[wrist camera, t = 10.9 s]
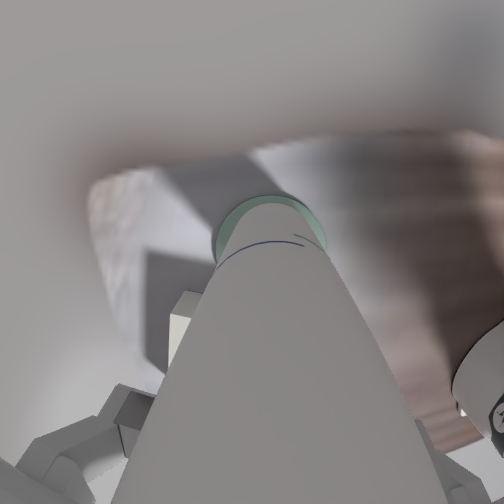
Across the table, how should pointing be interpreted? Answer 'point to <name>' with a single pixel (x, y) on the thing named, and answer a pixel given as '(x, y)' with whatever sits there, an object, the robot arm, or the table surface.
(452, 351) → the table surface
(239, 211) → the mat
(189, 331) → the cylindrical container
